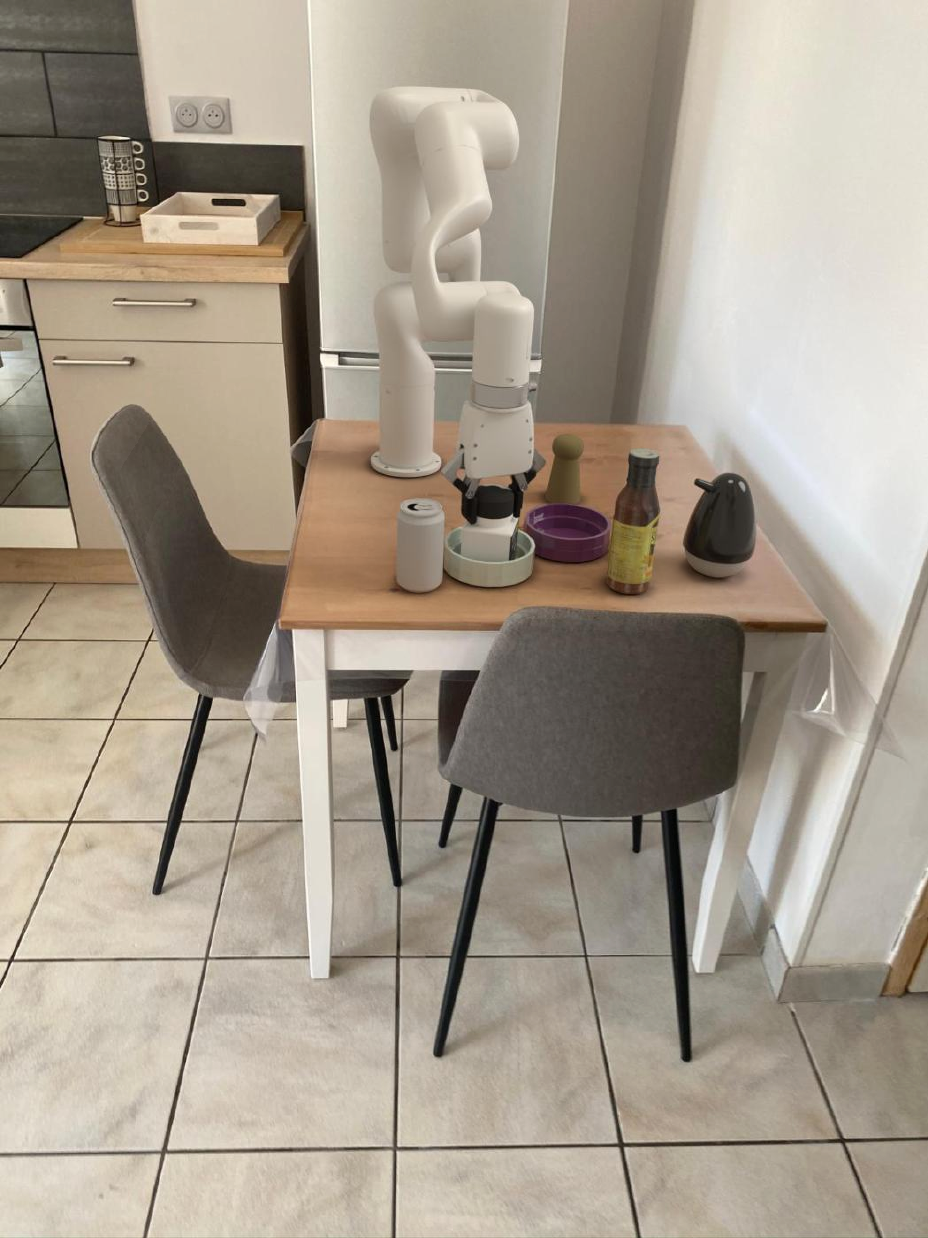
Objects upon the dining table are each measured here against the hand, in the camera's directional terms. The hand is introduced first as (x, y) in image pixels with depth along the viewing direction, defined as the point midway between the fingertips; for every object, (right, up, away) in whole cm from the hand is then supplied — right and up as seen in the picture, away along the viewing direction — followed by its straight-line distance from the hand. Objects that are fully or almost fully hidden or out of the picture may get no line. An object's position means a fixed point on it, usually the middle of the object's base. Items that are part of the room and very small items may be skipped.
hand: (491, 516), depth 135 cm
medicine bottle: (0, -7, +4) cm, 8 cm away
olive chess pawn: (+13, +6, +27) cm, 30 cm away
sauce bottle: (+19, -10, +1) cm, 22 cm away
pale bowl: (0, -7, +4) cm, 8 cm away
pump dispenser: (+33, -7, +7) cm, 35 cm away
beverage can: (-10, -10, -1) cm, 14 cm away
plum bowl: (+12, -3, +12) cm, 17 cm away
